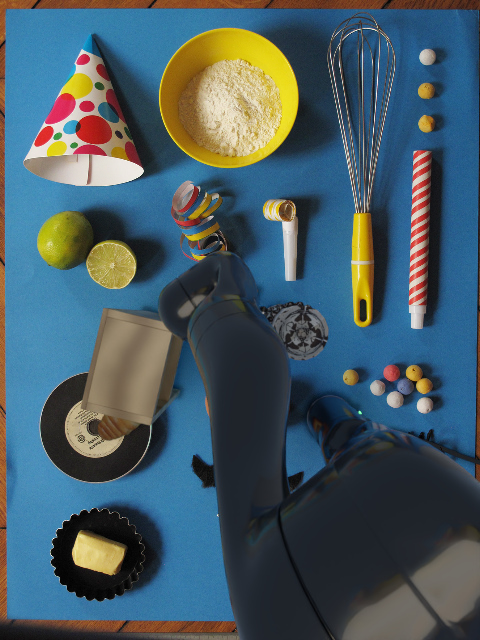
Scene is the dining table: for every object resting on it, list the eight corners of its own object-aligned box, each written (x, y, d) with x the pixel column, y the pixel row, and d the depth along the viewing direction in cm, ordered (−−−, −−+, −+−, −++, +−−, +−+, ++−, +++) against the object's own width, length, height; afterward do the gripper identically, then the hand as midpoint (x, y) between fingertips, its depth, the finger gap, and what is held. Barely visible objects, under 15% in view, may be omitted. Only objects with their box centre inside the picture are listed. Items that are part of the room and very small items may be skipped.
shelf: (195, 322, 86) (174, 324, 62) (178, 395, 86) (150, 425, 62) (144, 310, 86) (103, 307, 62) (127, 383, 86) (80, 408, 62)
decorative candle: (287, 293, 85) (313, 288, 60) (311, 332, 85) (346, 343, 60) (249, 317, 84) (258, 322, 60) (272, 356, 85) (292, 377, 60)
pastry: (112, 446, 86) (106, 452, 82) (92, 421, 86) (85, 425, 82) (148, 418, 86) (143, 423, 82) (127, 392, 86) (121, 396, 82)
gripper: (167, 317, 61) (186, 318, 77) (262, 340, 60) (261, 336, 77) (179, 267, 61) (196, 278, 77) (275, 290, 60) (271, 296, 76)
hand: (228, 307), depth 77 cm, fingers open, 8 cm apart
